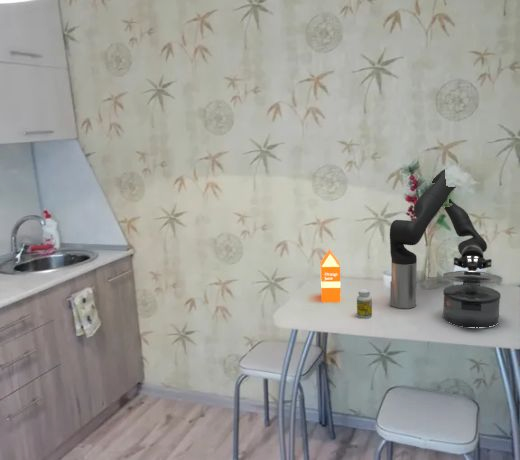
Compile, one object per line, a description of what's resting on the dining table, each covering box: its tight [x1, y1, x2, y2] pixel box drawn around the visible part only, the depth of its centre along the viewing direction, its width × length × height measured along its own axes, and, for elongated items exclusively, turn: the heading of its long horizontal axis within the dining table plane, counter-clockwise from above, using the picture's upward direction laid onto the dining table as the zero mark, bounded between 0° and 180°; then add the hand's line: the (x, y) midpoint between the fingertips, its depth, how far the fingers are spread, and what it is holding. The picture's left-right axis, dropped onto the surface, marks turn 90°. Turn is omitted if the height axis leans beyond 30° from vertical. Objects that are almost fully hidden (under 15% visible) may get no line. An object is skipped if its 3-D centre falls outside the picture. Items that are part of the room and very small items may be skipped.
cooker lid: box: [442, 269, 503, 285], centre depth 173 cm, size 19×21×4 cm
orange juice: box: [319, 248, 342, 303], centre depth 203 cm, size 8×9×20 cm
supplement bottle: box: [356, 288, 373, 319], centre depth 183 cm, size 5×5×10 cm
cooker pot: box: [442, 283, 502, 328], centre depth 175 cm, size 18×22×10 cm
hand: (472, 268), depth 169 cm, fingers closed
